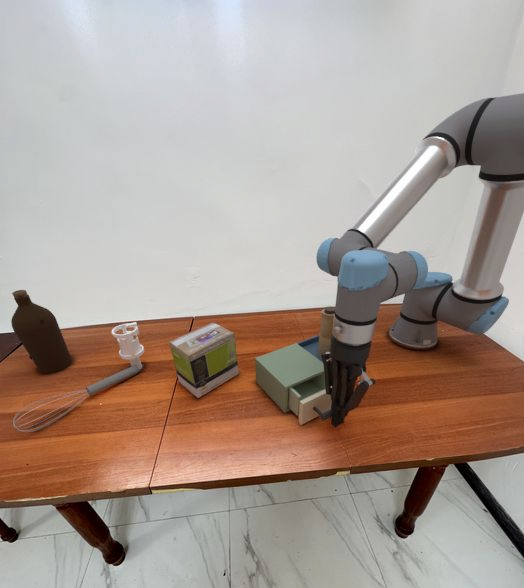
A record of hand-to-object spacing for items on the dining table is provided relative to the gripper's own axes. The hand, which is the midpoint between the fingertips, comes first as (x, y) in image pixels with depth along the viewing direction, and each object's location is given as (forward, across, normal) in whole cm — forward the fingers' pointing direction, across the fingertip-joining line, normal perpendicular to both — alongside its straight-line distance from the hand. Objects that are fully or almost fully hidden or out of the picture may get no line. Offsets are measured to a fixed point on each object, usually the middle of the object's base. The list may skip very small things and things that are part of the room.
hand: (337, 423), depth 69 cm
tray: (+2, -25, +19) cm, 32 cm away
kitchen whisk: (+2, -45, -49) cm, 67 cm away
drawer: (+1, -10, 0) cm, 10 cm away
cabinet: (+2, -18, 0) cm, 19 cm away
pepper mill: (+2, -25, +19) cm, 32 cm away
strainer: (+2, -53, -35) cm, 63 cm away
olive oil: (+2, -69, -57) cm, 89 cm away
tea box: (+3, -34, -18) cm, 39 cm away
